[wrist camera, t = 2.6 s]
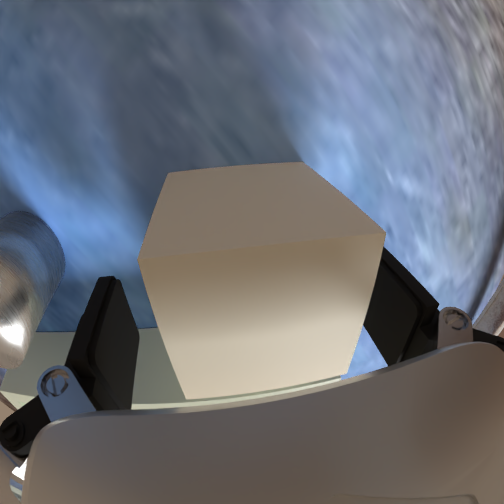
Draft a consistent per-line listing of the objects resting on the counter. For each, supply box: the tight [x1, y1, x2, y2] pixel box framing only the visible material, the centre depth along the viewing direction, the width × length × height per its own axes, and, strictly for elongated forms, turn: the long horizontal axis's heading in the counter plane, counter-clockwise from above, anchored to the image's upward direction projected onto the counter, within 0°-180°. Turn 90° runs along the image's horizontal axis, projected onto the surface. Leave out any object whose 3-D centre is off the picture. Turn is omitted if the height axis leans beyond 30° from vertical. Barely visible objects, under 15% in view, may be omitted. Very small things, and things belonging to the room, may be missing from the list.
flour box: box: [137, 162, 386, 400], centre depth 11 cm, size 6×6×7 cm
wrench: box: [472, 278, 504, 336], centre depth 19 cm, size 8×2×30 cm
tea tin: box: [0, 211, 65, 369], centre depth 10 cm, size 5×5×6 cm
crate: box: [0, 328, 341, 409], centre depth 18 cm, size 16×20×5 cm
